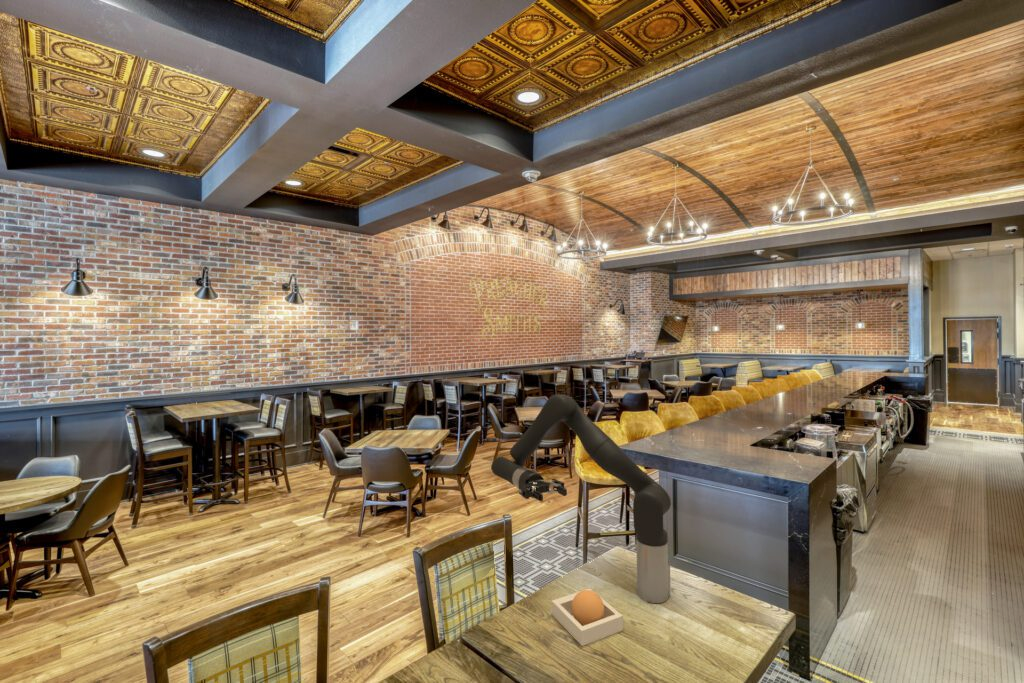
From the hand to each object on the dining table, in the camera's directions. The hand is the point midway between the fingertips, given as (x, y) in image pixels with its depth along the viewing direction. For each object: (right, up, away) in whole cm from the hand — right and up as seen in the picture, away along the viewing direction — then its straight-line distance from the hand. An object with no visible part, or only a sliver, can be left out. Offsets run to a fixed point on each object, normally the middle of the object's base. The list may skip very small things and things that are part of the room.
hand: (554, 495), depth 137 cm
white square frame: (+8, -32, -10) cm, 35 cm away
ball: (+8, -28, -11) cm, 31 cm away
